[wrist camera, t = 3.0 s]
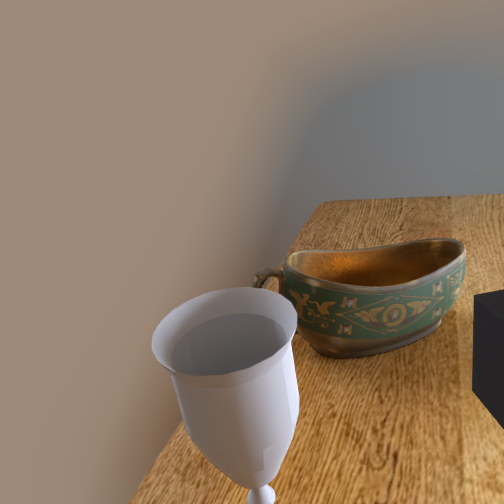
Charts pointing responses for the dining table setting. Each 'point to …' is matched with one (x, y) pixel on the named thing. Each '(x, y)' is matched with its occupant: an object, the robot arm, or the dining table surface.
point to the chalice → (235, 380)
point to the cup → (370, 294)
